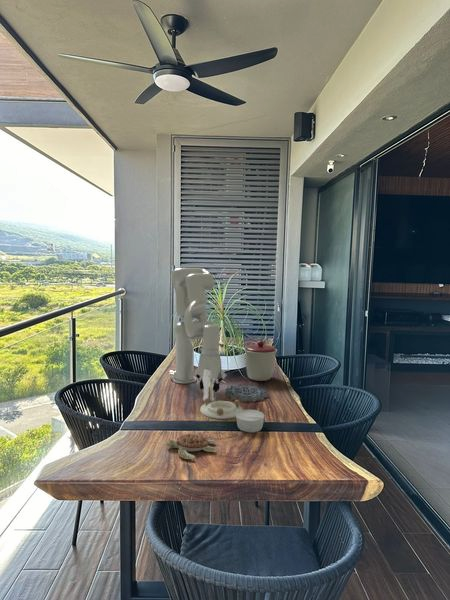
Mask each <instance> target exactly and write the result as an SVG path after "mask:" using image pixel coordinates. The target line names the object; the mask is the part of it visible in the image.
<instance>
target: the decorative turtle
mask: <svg viewBox="0 0 450 600" xmlns="http://www.w3.org/2000/svg"><path fill="white" fill-rule="evenodd" d="M215 442H216V440H215V439H211V438H207V437H204V436H202V435H200V434H196V433H185V434H182V435H180V436H178V437H177V438H176V439H169V440H168V441H167V442H166V446H167V448H170V449H178V450H177V452H178V455H179V456H180V457H181V458H182V459H185V460H194V459H196V456H195V455H194V454H192V453H191V454H190V453H189V452H199V451H202V450H203V451H204V452H209V453H210V452H215V451H216V449H217V448H216V447H214V446H210V443H215Z"/></svg>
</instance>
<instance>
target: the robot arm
mask: <svg viewBox="0 0 450 600" xmlns="http://www.w3.org/2000/svg"><path fill="white" fill-rule="evenodd" d="M171 281H172V286H173V289H174V293H175V308H176V316H177V317H178V319H181V320H183V321H180V322H178V323H176V324H175V326H174V329H173V332H174V336H175V371H174V370H169V371H168V372H169V375H168V376H173V377H172V381H173V382H174V383H176V384H193V383H194V382H196V381H197V379H198V381H199V390H203V383H202V376H203V374H204V369H208V370H211V375H212V378H215V381H216V383H215V393H217V392H218V391H219V390H220V385H221V384H220V383H221V382H222V381H223V380H224V379H225V378H226V377H227V373H225V372H224V371H223V368H222V359H221V354H220V353H219V352H220V326H219V325H218V324H216V323H215V322H214V321H210V320H209V321H208V317H207V314H208V313H207V307H206V304H207V303H208V298H207V295H206V291H211V290H213V289H214V288H215V279H214V276H213V275H212V273H211V272H209V271H208V270H206V269H205V268H203V267H178V268H174V269H173V271H172V274H171ZM193 319H194V320H195V321H193ZM199 339H202V345H201V346H202V347H200V348H199V349H198V351H199V352H201V353H200V354H199V359H198V367H197V368H196V369H195V368H194V367H195V366H194V365H195V347H194V345H193V343H192V342H191V341H192V340H199ZM194 369H195V370H194ZM194 375H195V376H194Z"/></svg>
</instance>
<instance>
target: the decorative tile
mask: <svg viewBox="0 0 450 600" xmlns="http://www.w3.org/2000/svg"><path fill="white" fill-rule="evenodd" d="M268 394H269V393H268V392H267V389H266V388H262V387H261V386H258V385H257V386H256V385H255V386H253V385H252V384H246V385H244V384H238V385H230V387H227V388H225V397H227V398H230V399H231V401H235V400H239V401H240V403H245V402H250V403H255V402H257V401H264V399H265V398H268V397H269V396H268Z"/></svg>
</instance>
